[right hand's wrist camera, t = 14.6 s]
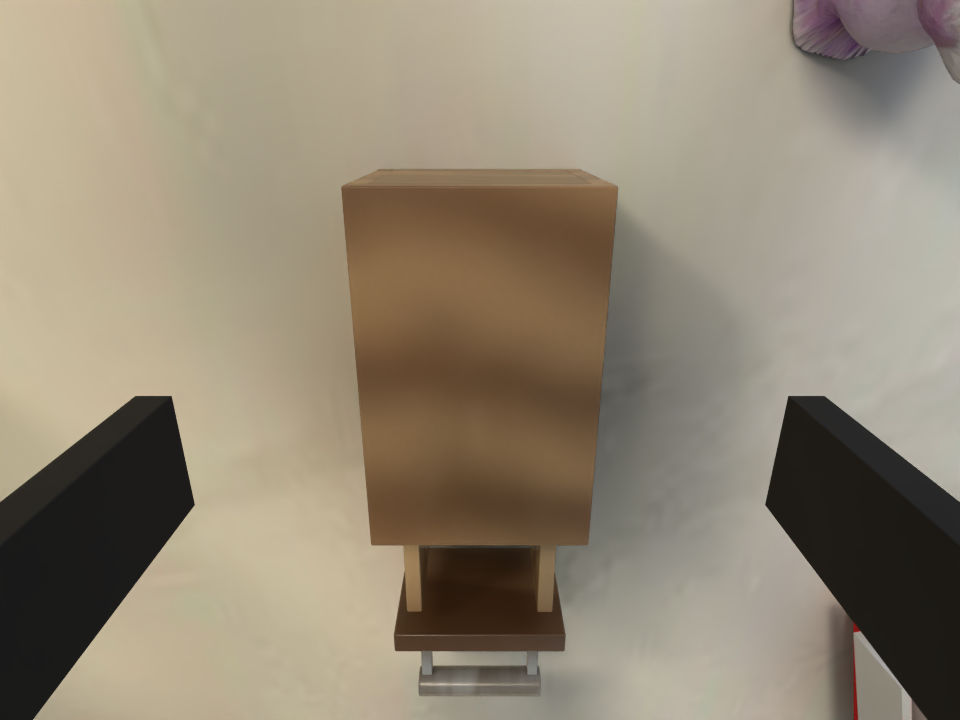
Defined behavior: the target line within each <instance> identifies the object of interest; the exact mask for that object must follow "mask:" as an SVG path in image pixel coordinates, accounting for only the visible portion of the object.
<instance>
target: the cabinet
mask: <svg viewBox="0 0 960 720" xmlns="http://www.w3.org/2000/svg"><path fill="white" fill-rule="evenodd" d="M341 189H342V201H343V213H344V225H345V237H346V248H347V260H348V272H349V284H350V296H351V308H352V320H353V332H354V344H355V356H356V368H357V380H358V392H359V404H360V416H361V428H362V440H363V452H364V464H365V476H366V488H367V500H368V512H369V524H370V536H371V544H372V545H588V541H589V529H590V517H591V505H592V493H593V481H594V469H595V457H596V445H597V434H598V422H599V410H600V398H601V386H602V374H603V362H604V350H605V338H606V326H607V315H608V303H609V291H610V279H611V267H612V255H613V243H614V231H615V219H616V207H617V195H618V186H616V185H613V184H611V183H609V182H607V181H604V180H602V179H600V178H598V177H595V176H593V175H591V174H589V173H586V172H584V171H583V170H580V169H379V170H377V171H375V172H373V173H371V174H369V175H366V176H364V177H362V178H359V179H357V180H355V181H353V182H350V183H348V184H346V185H344V186H342V188H341Z"/></svg>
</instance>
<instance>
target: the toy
mask: <svg viewBox="0 0 960 720" xmlns="http://www.w3.org/2000/svg"><path fill="white" fill-rule="evenodd" d="M853 635H854V720H927V719H926V718H925V716H924V715H923V714H922V712H921V711H920V710H919V708H918V707H917V706H916V704H915V703H914V702H913V700H912V699H911V698H910V696H909V695H908V694H907V692H906V691H905V690H904V688H903V687H902V686H901V684H900V683H899V682H898V680H897V679H896V678H895V676H894V675H893V674H892V672H891V671H890V670H889V668H888V667H887V666H886V664H885V663H884V662H883V660H882V659H881V658H880V656H879V655H878V654H877V652H876V651H875V650H874V648H873V647H872V646H871V644H870V643H869V642H868V641H867V639H866V638H865V637H864V635H863V634H862V633H861V631H860V630H859V629H858V627H857V626H856V625H855V623H854V633H853Z"/></svg>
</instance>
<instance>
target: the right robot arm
mask: <svg viewBox="0 0 960 720" xmlns="http://www.w3.org/2000/svg"><path fill="white" fill-rule="evenodd" d="M194 505H195V504H194V499H193V495H192V490H191V485H190V480H189V476H188V471H187V466H186V462H185V457H184V452H183V448H182V443H181V438H180V433H179V429H178V424H177V419H176V415H175V410H174V405H173V401H172V396H135V397H134V398H133V399H131V400H130V401H129V402H127V403H126V404H125V405H124V406H122V407H121V408H120V409H119V410H117V411H116V412H115V413H113V414H112V415H111V416H110V417H108V418H107V419H106V420H105V421H103V422H102V423H101V424H99V425H98V426H97V427H96V428H94V429H93V430H92V431H90V432H89V433H88V434H87V435H85V436H84V437H83V438H82V439H80V440H79V441H78V442H76V443H75V444H74V445H73V446H71V447H70V448H69V449H68V450H66V451H65V452H64V453H62V454H61V455H60V456H59V457H57V458H56V459H55V460H53V461H52V462H51V463H50V464H48V465H47V466H46V467H45V468H43V469H42V470H41V471H39V472H38V473H37V474H36V475H34V476H33V477H32V478H31V479H29V480H28V481H27V482H25V483H24V484H23V485H22V486H20V487H19V488H18V489H16V490H15V491H14V492H13V493H11V494H10V495H9V496H8V497H6V498H5V499H4V500H2V501H1V502H0V720H33V719H34V718H35V716H36V715H37V714H38V712H39V711H40V710H41V708H42V707H43V706H44V704H45V703H46V702H47V700H48V699H49V698H50V696H51V695H52V694H53V692H54V691H55V690H56V688H57V687H58V686H59V684H60V683H61V682H62V680H63V679H64V678H65V676H66V675H67V674H68V672H69V671H70V670H71V668H72V667H73V666H74V664H75V663H76V662H77V660H78V659H79V658H80V656H81V655H82V654H83V652H84V651H85V650H86V648H87V647H88V646H89V644H90V643H91V642H92V641H93V639H94V638H95V637H96V635H97V634H98V633H99V631H100V630H101V629H102V627H103V626H104V625H105V623H106V622H107V621H108V619H109V618H110V617H111V615H112V614H113V613H114V611H115V610H116V609H117V607H118V606H119V605H120V603H121V602H122V601H123V599H124V598H125V597H126V595H127V594H128V593H129V591H130V590H131V589H132V587H133V586H134V585H135V583H136V582H137V581H138V579H139V578H140V577H141V575H142V574H143V573H144V571H145V570H146V569H147V567H148V566H149V565H150V564H151V562H152V561H153V560H154V558H155V557H156V556H157V554H158V553H159V552H160V550H161V549H162V548H163V546H164V545H165V544H166V542H167V541H168V540H169V538H170V537H171V536H172V534H173V533H174V532H175V530H176V529H177V528H178V526H179V525H180V524H181V522H182V521H183V520H184V518H185V517H186V516H187V514H188V513H189V512H190V510H191V509H192V508H193V506H194ZM765 505H766V506H767V508H768V509H769V510H770V512H771V513H772V514H773V516H774V517H775V518H776V520H777V521H778V522H779V524H780V525H781V526H782V528H783V529H784V530H785V532H786V533H787V534H788V536H789V537H790V538H791V540H792V541H793V542H794V544H795V545H796V546H797V548H798V549H799V550H800V552H801V553H802V554H803V556H804V557H805V558H806V560H807V561H808V562H809V564H810V565H811V566H812V567H813V569H814V570H815V571H816V573H817V574H818V575H819V577H820V578H821V579H822V581H823V582H824V583H825V585H826V586H827V587H828V589H829V590H830V591H831V593H832V594H833V595H834V597H835V598H836V599H837V601H838V602H839V603H840V605H841V606H842V607H843V609H844V610H845V611H846V613H847V614H848V615H849V617H850V618H851V619H852V621H853V622H854V623H855V625H856V626H857V627H858V629H859V630H860V631H861V633H862V634H863V635H864V637H865V638H866V639H867V641H868V642H869V643H870V644H871V646H872V647H873V648H874V650H875V651H876V652H877V654H878V655H879V656H880V658H881V659H882V660H883V662H884V663H885V664H886V666H887V667H888V668H889V670H890V671H891V672H892V674H893V675H894V676H895V678H896V679H897V680H898V682H899V683H900V684H901V686H902V687H903V688H904V690H905V691H906V692H907V694H908V695H909V696H910V698H911V699H912V700H913V702H914V703H915V704H916V706H917V707H918V708H919V710H920V711H921V712H922V714H923V715H924V716H925V718H926V719H927V720H960V502H959V501H958V500H956V499H955V498H954V497H952V496H951V495H950V494H949V493H947V492H946V491H945V490H944V489H942V488H941V487H940V486H938V485H937V484H936V483H935V482H933V481H932V480H931V479H929V478H928V477H927V476H926V475H924V474H923V473H922V472H921V471H919V470H918V469H917V468H915V467H914V466H913V465H912V464H910V463H909V462H908V461H907V460H905V459H904V458H903V457H901V456H900V455H899V454H898V453H896V452H895V451H894V450H892V449H891V448H890V447H889V446H887V445H886V444H885V443H884V442H882V441H881V440H880V439H878V438H877V437H876V436H875V435H873V434H872V433H871V432H870V431H868V430H867V429H866V428H864V427H863V426H862V425H861V424H859V423H858V422H857V421H855V420H854V419H853V418H852V417H850V416H849V415H848V414H847V413H845V412H844V411H843V410H841V409H840V408H839V407H838V406H836V405H835V404H834V403H833V402H831V401H830V400H829V399H827V398H826V397H825V396H788V401H787V405H786V410H785V415H784V419H783V424H782V429H781V433H780V438H779V443H778V448H777V452H776V457H775V462H774V466H773V471H772V476H771V480H770V485H769V490H768V495H767V499H766V504H765Z"/></svg>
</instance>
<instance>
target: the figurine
mask: <svg viewBox="0 0 960 720" xmlns="http://www.w3.org/2000/svg"><path fill="white" fill-rule="evenodd" d="M793 35H794V41H795V43H796V45H798V46H799V47H801V48H802V50H805V51H807V52H812V53H814V52H816V53H817V54H820V53H821V54H822V56H823V55H826V56H827V57H830V56H831V57H832V58H837V59H844V60H846V59H848V58H851V59H853V58H855V57H857V56H864V55H865V54H867V53H868V52H870V51H871V50H876V51H881V52H886V53H906V52H910V51H915V50H918V49H922V48H925V47H928V46H931V45H934V44H935V45H936V47H937V49H938V51H939V53H940V55H941V57H942V60H943V62H944V64H945V67H946V69H947V70H948V72H949V74H950V75H951V77H952V78H953V80H955V81H956V82H957V83H959V84H960V0H794V14H793Z"/></svg>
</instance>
